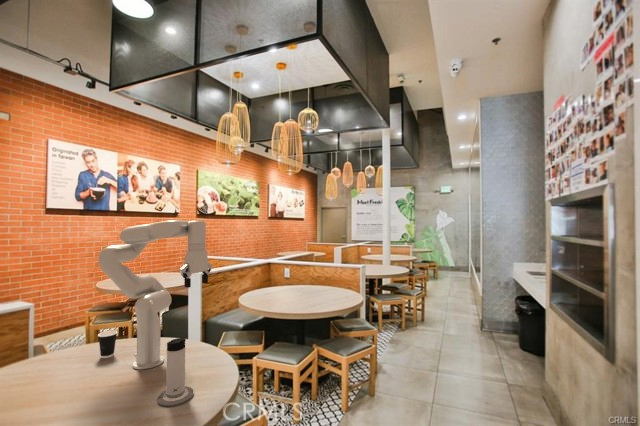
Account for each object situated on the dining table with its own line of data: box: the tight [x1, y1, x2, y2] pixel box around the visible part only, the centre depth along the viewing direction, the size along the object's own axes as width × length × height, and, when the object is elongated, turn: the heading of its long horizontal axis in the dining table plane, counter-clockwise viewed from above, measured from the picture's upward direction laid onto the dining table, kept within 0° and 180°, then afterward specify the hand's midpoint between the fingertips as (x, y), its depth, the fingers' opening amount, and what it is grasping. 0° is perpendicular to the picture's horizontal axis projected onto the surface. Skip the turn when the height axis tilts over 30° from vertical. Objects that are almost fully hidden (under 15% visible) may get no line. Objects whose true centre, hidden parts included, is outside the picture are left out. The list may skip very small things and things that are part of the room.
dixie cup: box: [97, 330, 118, 359], centre depth 151 cm, size 8×8×11 cm
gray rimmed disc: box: [157, 385, 194, 408], centre depth 114 cm, size 12×12×1 cm
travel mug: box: [165, 337, 187, 398], centre depth 115 cm, size 6×7×20 cm
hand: (196, 285), depth 141 cm, fingers open, 9 cm apart
